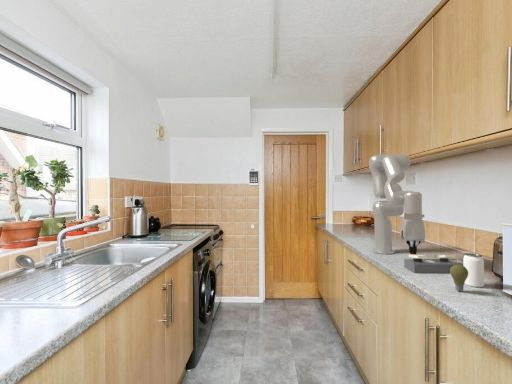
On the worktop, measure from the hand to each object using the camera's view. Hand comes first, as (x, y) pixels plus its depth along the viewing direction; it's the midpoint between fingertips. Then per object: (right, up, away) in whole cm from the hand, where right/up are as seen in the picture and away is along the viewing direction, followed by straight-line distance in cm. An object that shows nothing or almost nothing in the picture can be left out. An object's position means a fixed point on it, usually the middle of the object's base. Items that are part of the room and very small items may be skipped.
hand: (412, 254), depth 136 cm
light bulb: (-1, -7, -32) cm, 33 cm away
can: (+9, -7, -26) cm, 29 cm away
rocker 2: (+12, 0, -5) cm, 13 cm away
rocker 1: (0, 0, -4) cm, 5 cm away
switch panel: (+8, -6, -5) cm, 11 cm away
